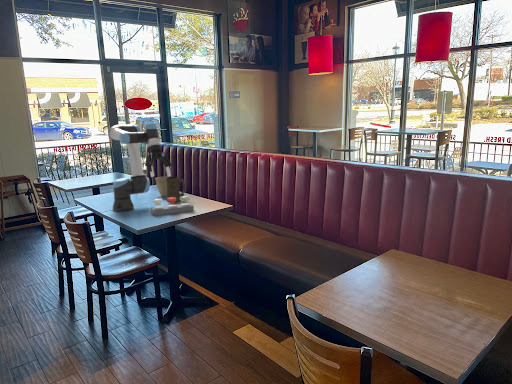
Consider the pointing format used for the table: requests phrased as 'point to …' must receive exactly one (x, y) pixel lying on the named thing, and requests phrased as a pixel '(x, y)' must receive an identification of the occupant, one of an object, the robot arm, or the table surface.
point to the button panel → (172, 209)
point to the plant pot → (162, 185)
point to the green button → (185, 198)
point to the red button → (171, 200)
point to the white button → (158, 201)
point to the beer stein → (174, 188)
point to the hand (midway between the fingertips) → (161, 176)
